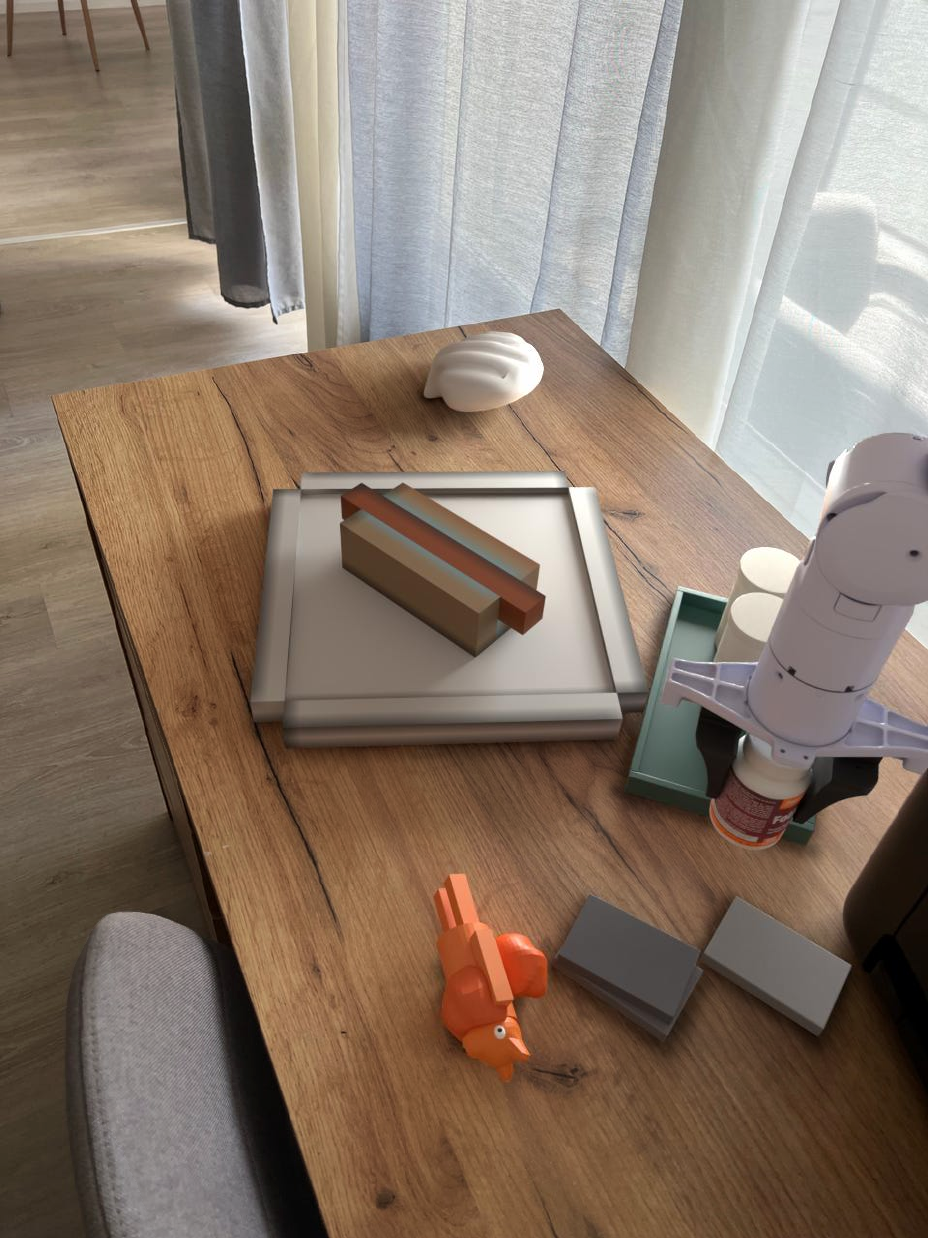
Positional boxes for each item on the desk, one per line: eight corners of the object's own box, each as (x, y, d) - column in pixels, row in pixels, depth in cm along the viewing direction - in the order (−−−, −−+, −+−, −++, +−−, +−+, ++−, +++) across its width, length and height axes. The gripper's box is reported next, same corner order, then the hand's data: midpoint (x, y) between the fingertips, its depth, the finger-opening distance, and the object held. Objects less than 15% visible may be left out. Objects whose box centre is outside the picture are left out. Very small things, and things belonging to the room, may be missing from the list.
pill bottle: (769, 865, 59) (812, 788, 53) (697, 829, 60) (730, 750, 54) (793, 809, 62) (836, 730, 56) (723, 776, 63) (757, 695, 57)
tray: (805, 846, 68) (814, 831, 66) (623, 792, 70) (628, 776, 69) (825, 641, 82) (832, 625, 81) (673, 601, 84) (677, 585, 83)
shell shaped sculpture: (563, 403, 105) (571, 350, 101) (479, 445, 99) (483, 391, 95) (484, 353, 112) (488, 302, 107) (400, 389, 106) (400, 336, 101)
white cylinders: (765, 726, 75) (799, 651, 68) (699, 707, 76) (726, 631, 69) (778, 633, 82) (810, 556, 75) (718, 617, 83) (744, 540, 76)
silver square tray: (586, 496, 94) (597, 433, 89) (647, 743, 73) (667, 679, 68) (277, 498, 92) (270, 433, 86) (252, 754, 71) (239, 689, 66)
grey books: (845, 973, 61) (858, 957, 60) (778, 1126, 55) (790, 1112, 53) (631, 842, 67) (637, 824, 66) (546, 966, 61) (551, 949, 59)
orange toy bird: (423, 865, 59) (478, 1061, 51) (528, 860, 62) (595, 1043, 54) (398, 908, 62) (445, 1099, 54) (499, 901, 65) (558, 1080, 57)
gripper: (673, 668, 48) (627, 815, 58) (975, 749, 45) (873, 889, 55) (694, 577, 53) (648, 728, 63) (969, 646, 50) (876, 791, 60)
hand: (754, 797), depth 59 cm, fingers closed on pill bottle, 5 cm apart
